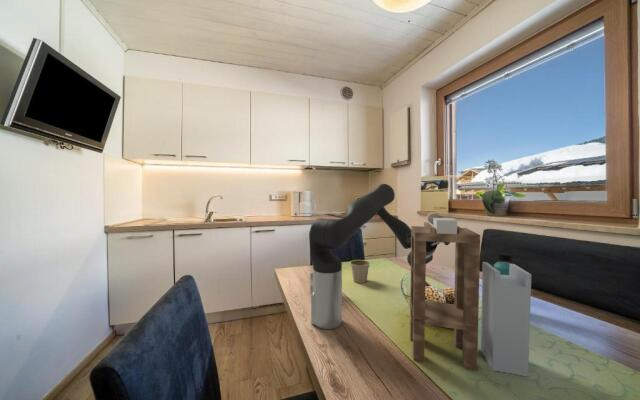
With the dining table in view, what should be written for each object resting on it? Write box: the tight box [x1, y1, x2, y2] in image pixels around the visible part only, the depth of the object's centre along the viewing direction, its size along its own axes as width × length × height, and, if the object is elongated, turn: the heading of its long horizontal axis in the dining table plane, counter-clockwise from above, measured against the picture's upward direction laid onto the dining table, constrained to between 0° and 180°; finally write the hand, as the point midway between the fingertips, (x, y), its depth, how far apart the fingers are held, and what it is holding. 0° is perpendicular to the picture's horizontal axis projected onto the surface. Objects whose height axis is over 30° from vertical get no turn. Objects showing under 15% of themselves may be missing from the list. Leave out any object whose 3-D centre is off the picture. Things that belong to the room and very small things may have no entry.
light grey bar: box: [426, 212, 458, 234], centre depth 68 cm, size 4×20×3 cm, turn 165°
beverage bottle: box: [493, 252, 513, 275], centre depth 87 cm, size 6×7×20 cm
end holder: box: [480, 261, 532, 378], centre depth 61 cm, size 7×8×24 cm
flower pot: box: [349, 259, 371, 284], centre depth 116 cm, size 9×9×9 cm
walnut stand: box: [409, 221, 481, 372], centre depth 65 cm, size 14×11×33 cm
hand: (431, 230), depth 80 cm, fingers open, 8 cm apart
